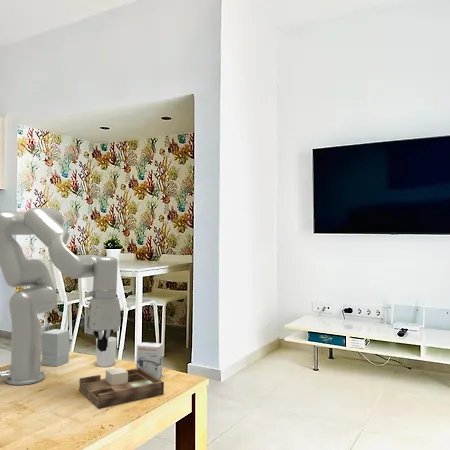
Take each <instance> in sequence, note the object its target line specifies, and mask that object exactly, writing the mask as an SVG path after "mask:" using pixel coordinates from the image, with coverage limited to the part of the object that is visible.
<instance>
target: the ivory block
mask: <svg viewBox="0 0 450 450" xmlns="http://www.w3.org/2000/svg"><path fill="white" fill-rule="evenodd" d="M126 370H127V369H124V368H123V367H115V368H111V369H110V368H109V369H106V370H105V378H106V381H107V382H108V383H109V384H111V385H117V384H122V383H127V382H128V372H127V371H126Z"/></svg>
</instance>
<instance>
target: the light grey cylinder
mask: <svg viewBox="0 0 450 450" xmlns="http://www.w3.org/2000/svg"><path fill="white" fill-rule="evenodd" d="M117 341H118V339H117V337H114V336H110V337H109V338H108V347H107V348H106V351H102V352H101V351H100V350H98V348H97V338H96V339H95V342H96V343H95V348H96V349H95V351H96V352H95V353H96V366H98V367H101V368H102V367H103V368H107V367H112V366H114V365H115V363H116V353H117Z"/></svg>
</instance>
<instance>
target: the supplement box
mask: <svg viewBox="0 0 450 450" xmlns="http://www.w3.org/2000/svg"><path fill="white" fill-rule="evenodd" d="M69 348H70V330H69V329H59V328H53V329H49V330H47V331H44V332H41V365H43V366H49V367H50V366H51V367H59V366H62V365H65V364H67V363H68V362H69V360H70V359H69V358H70V356H69V355H70V353H69V351H70V349H69Z"/></svg>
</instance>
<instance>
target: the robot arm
mask: <svg viewBox="0 0 450 450" xmlns="http://www.w3.org/2000/svg"><path fill="white" fill-rule="evenodd" d="M64 223H65V222H64V217H63V214H62V213H61V212H60V211H59V210H58V209H55V208H50V207H49V208H47V207H32V208H30V209H28V210H26V211H13V210H7V211H6V210H5V211H4V210H3V211H0V270H1V272H2V275H3V278H4V281H5V283H6V284H7V286H9V287H10V288H23V289H20V290H17V291H15V292H14V293H13V294H12V295H11V297H10V299H9V302H8V305H9V306H8V309H9V312H10V313H9V314H10V319H11V344H10V349H11V351H10V352H11V354H10V366H8V368H7V369H5V370H0V378H1V379H4V378H5V383H7V384H9V385H15V386H23V385H24V386H25V385H30V384H31V385H32V384H35V383H38V382H41V381H43V380H44V379H45V376H46V374H45V372H44V371H41V365H42V325H41V322H40V321H41V320H40V319H39V317H38V315H39V314H44V313H48V312H50V311H53V310H54V309H55V308H56V306H57V304H58V293H57V290H56V287H55V285H54V284H55V283H54V282H53V279H52V277H51V274H50V272H49V269H48V267H47V265H45V263H43V262H42V261H41V260H39V259H27V258H26V256H25V254H24V251H23V249H22V246H21V245H20V243H19V242H18V241H17V240H16V239H15V238H14V236H23V235H25V236H30V235H31V236H32V235H35V237H36V238H37V239H39V241H41V243H42V244H44V245H45V247H47V248H48V255H49V258H50V261H51V263H52V264H53V265H54V266H55V268H57V269H58V271H59V272H60V273H62V274H63V275H64V276H66V277H67V278H69V279H72V280H73V279H74V280H76V279H85V278H92V277H93V278H92V279H93V281H92V282H93V283H92V284H93V285H92V289H91V291H88V296H89V297H90V296H91V298H90V300H89V305H88V309H87V315H86V334H87V335H93V336H95V337H96V339H97V348H98V350H100V351H101V352H102V351H106V348H107V347H108V338H109V337H111V335H112V334H113V333H116V332H119V330H120V327H121V321H122V320H121V319H122V318H121V306H120V299H119V298H118V297H117V291H118V290H117V287H118V268H119V267H118V259H117V257H114V256H100V255H96V254H80V255H79V254H78V255H77V254H75V253H74V252H72V251H71V250H70V249H69V248H68V247H67V246H66V244H67V242H68V240H69V238H70V233H69V231H68V229H66V227H64V226H63V225H64ZM24 287H29V288H24Z"/></svg>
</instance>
